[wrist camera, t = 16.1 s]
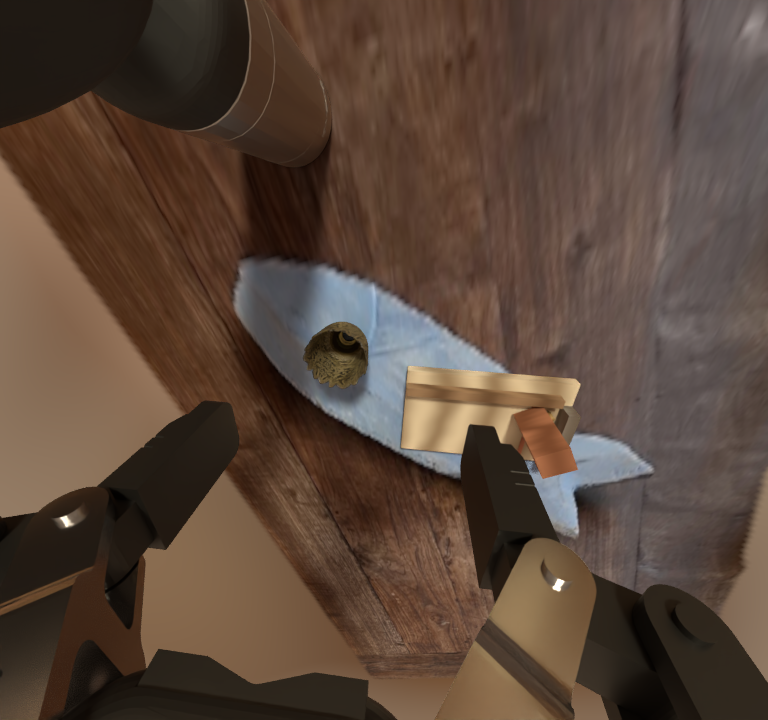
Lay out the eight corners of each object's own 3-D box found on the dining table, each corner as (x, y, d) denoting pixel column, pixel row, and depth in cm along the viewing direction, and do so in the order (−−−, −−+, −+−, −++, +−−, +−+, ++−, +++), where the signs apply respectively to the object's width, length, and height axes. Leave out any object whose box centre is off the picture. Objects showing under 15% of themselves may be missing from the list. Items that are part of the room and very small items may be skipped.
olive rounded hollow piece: (342, 297, 39) (326, 317, 32) (386, 332, 41) (380, 358, 34) (312, 337, 42) (291, 364, 35) (354, 368, 44) (342, 399, 37)
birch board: (401, 441, 49) (400, 459, 45) (408, 365, 43) (407, 380, 39) (546, 455, 48) (556, 475, 44) (575, 378, 41) (590, 395, 38)
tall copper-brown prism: (520, 432, 44) (542, 478, 36) (512, 413, 43) (534, 458, 35) (554, 422, 43) (584, 468, 35) (547, 402, 41) (577, 446, 34)
